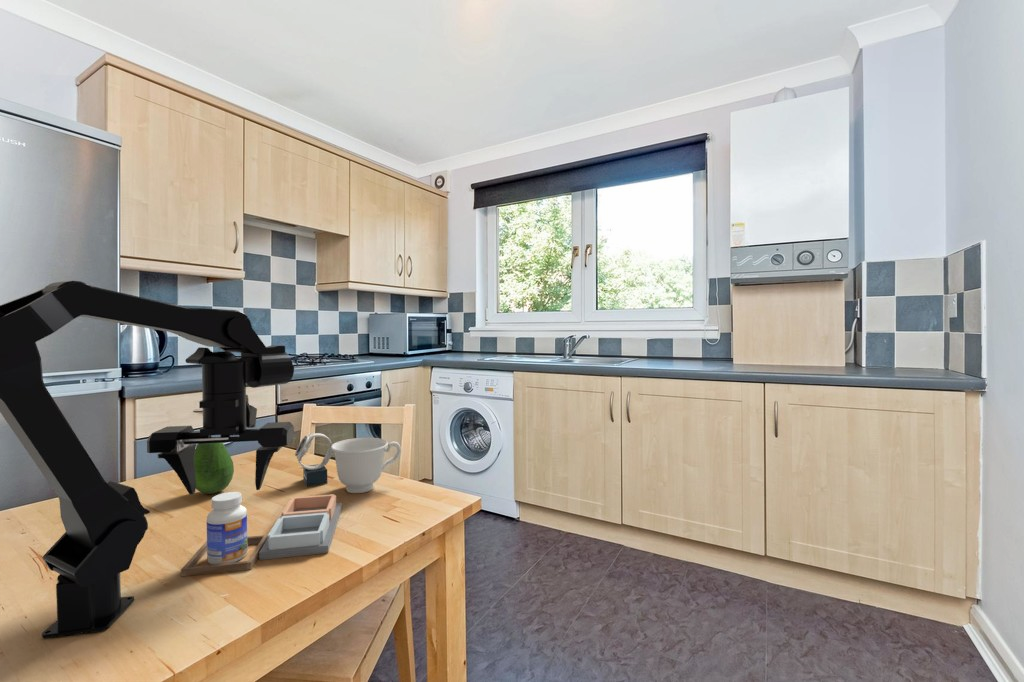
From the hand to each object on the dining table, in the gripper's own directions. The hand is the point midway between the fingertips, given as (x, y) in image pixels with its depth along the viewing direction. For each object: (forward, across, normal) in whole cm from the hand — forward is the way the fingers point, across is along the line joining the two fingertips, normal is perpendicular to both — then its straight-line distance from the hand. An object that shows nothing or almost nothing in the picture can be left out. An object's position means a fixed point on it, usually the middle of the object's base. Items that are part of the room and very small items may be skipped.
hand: (226, 491), depth 72 cm
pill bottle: (+11, 0, 0) cm, 11 cm away
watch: (+11, -7, -34) cm, 36 cm away
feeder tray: (+10, 0, 0) cm, 11 cm away
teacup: (+10, -19, -27) cm, 35 cm away
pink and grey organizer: (+10, -10, -7) cm, 16 cm away
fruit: (+11, +13, -31) cm, 35 cm away
